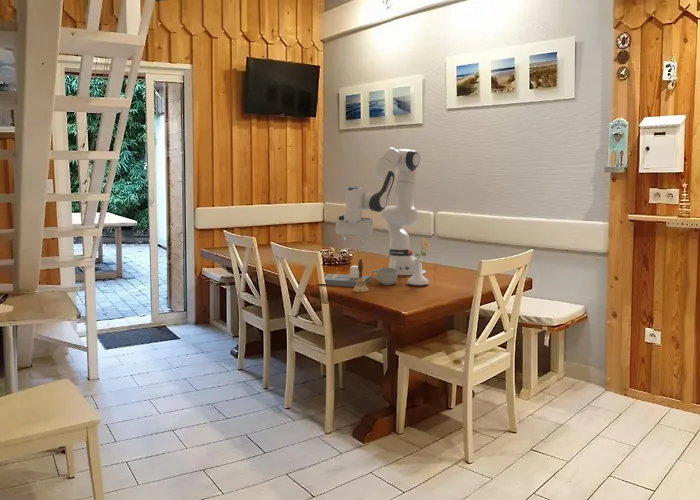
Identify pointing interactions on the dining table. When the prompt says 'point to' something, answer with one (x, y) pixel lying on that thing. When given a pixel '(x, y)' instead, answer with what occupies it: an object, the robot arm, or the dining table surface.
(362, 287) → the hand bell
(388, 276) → the teacup
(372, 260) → the dining table surface
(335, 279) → the console
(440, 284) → the dining table surface
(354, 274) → the fader
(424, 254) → the flower in vase
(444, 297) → the dining table surface
